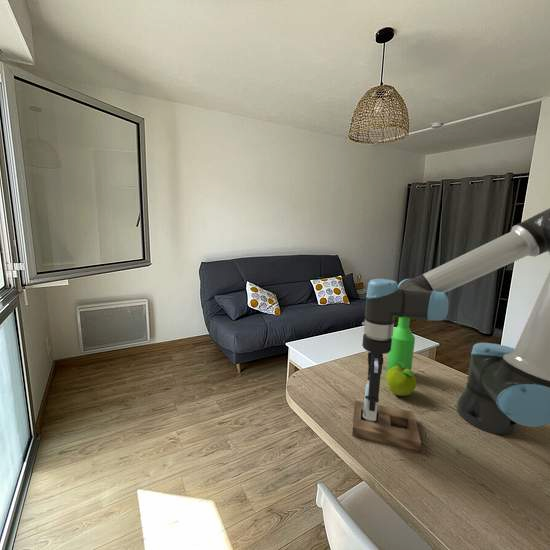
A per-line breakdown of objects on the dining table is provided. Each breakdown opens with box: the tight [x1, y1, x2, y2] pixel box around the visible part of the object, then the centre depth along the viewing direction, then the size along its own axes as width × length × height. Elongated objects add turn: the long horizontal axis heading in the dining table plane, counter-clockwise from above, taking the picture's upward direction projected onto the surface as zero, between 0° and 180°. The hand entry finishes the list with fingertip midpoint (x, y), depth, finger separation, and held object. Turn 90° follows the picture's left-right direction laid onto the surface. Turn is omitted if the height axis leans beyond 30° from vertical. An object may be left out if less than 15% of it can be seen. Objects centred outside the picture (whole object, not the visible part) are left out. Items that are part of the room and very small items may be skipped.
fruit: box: [385, 362, 417, 397], centre depth 100 cm, size 9×9×10 cm
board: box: [351, 399, 422, 452], centre depth 83 cm, size 17×13×2 cm
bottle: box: [386, 317, 416, 372], centre depth 111 cm, size 9×9×25 cm
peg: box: [362, 382, 377, 423], centre depth 84 cm, size 4×4×12 cm
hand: (370, 410), depth 84 cm, fingers open, 7 cm apart
